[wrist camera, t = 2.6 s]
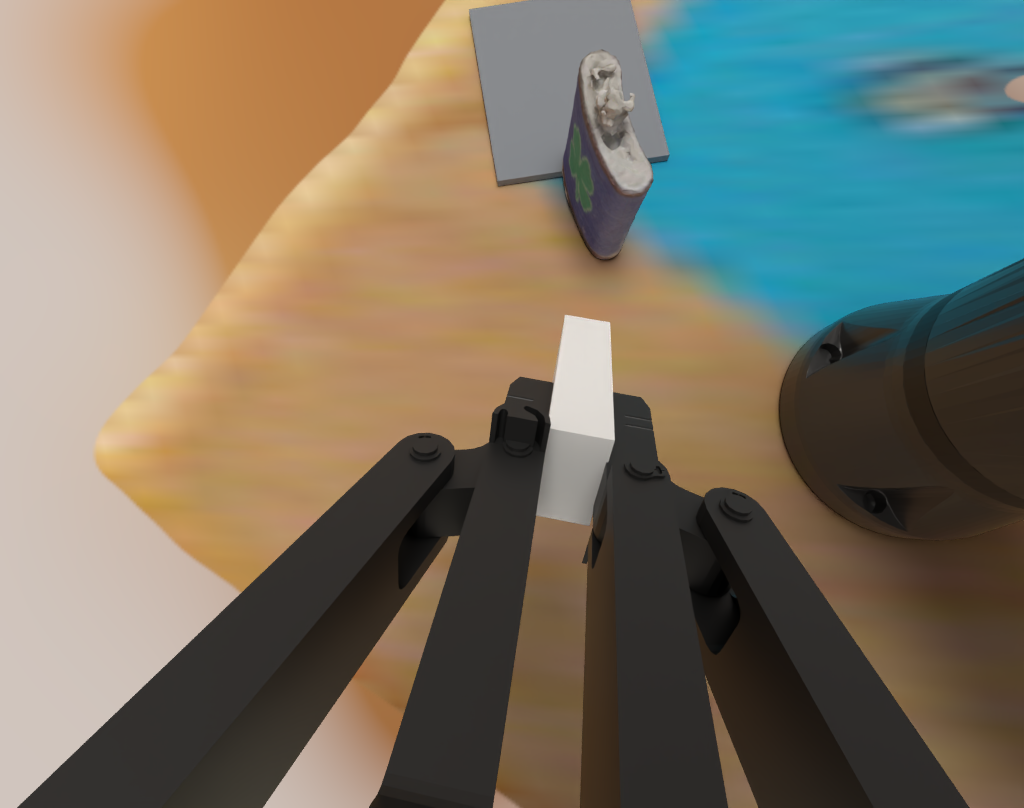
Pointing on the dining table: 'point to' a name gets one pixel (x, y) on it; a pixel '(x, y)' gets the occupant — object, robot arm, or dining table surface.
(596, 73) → the flask
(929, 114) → the dining table surface
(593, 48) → the mat
